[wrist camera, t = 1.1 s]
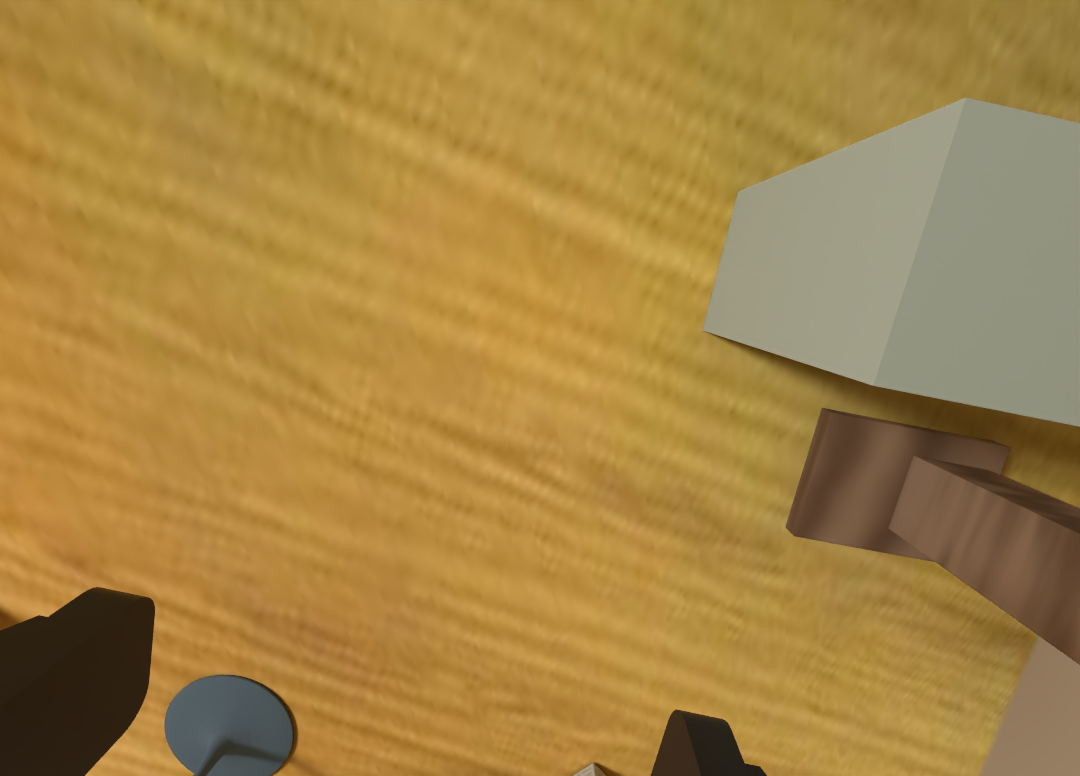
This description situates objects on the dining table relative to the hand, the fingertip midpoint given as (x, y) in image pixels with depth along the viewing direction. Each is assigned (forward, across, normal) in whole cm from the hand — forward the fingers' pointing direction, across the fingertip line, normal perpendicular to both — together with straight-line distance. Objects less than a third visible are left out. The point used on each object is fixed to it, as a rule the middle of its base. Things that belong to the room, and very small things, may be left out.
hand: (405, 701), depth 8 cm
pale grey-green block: (+34, -19, -10) cm, 41 cm away
